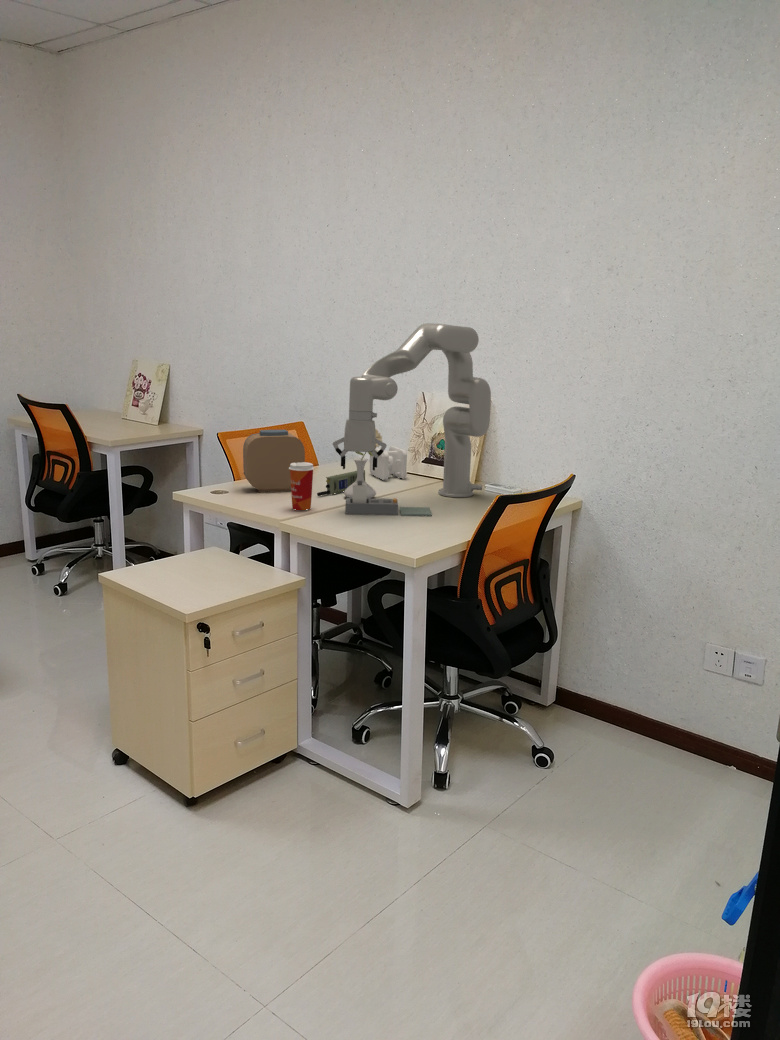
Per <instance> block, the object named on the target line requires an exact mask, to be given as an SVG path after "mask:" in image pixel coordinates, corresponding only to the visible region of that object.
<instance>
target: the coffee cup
mask: <svg viewBox="0 0 780 1040" xmlns="http://www.w3.org/2000/svg"><path fill="white" fill-rule="evenodd" d="M289 469H290V479H291V491H290V494H291V495H290V496H291V507H292V510H293V509H296V510H306V509H310V508H312V496H313V478H314V477H313V476H314V469H315V467H314V464H313V463H311V462H308V461H307V462H306V461H305V462H302V463H301V462H297V463H291V464H290V467H289ZM296 510H295V511H296ZM310 510H311V509H310Z"/></svg>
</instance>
